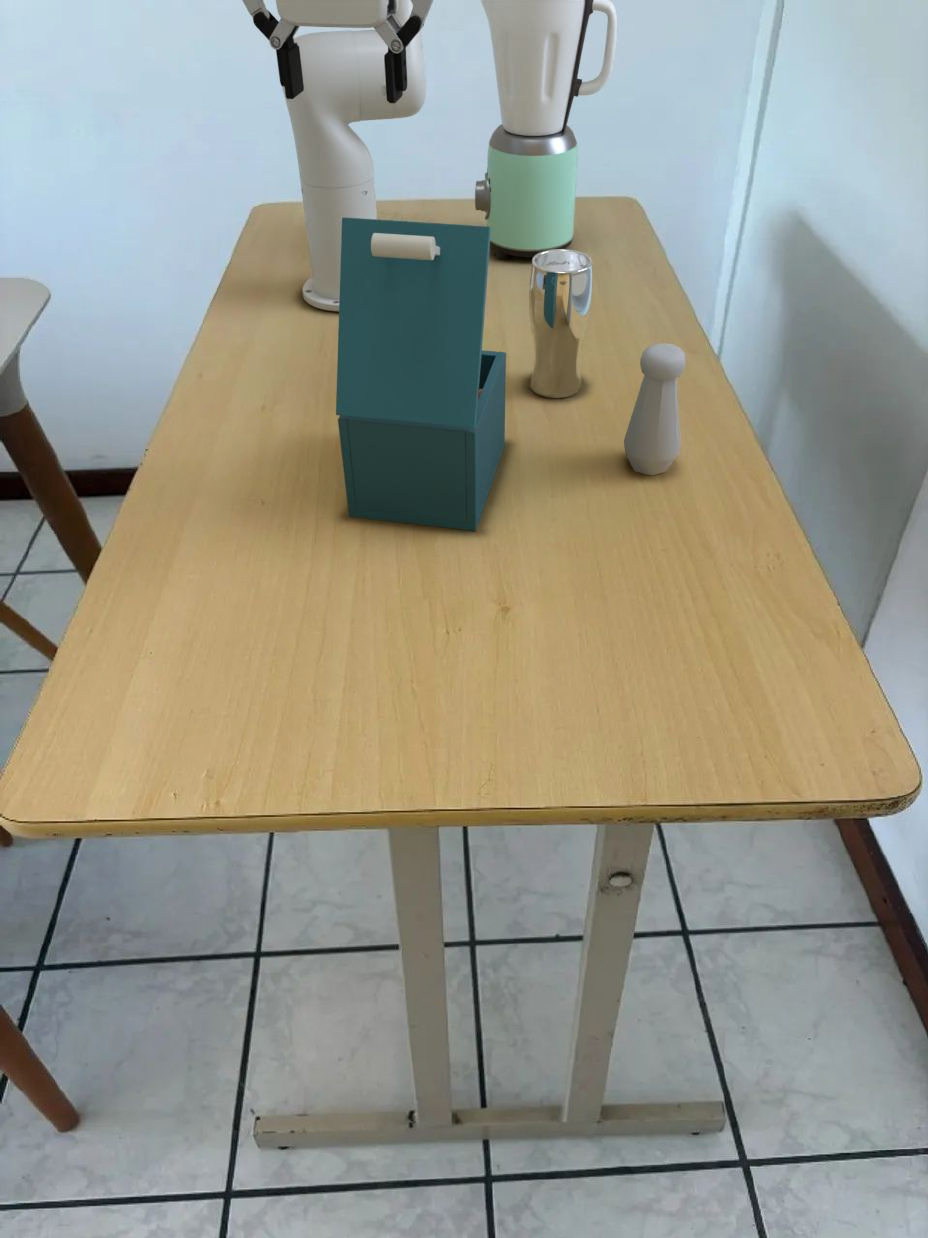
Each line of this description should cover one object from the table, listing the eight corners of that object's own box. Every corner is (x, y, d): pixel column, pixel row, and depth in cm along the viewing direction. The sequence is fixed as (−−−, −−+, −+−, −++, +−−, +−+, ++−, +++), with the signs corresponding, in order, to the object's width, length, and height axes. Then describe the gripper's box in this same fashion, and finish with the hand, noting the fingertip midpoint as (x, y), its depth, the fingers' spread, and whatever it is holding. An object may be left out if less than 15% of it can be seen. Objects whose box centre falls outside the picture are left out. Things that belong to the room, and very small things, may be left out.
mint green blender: (470, 263, 141) (468, -19, 118) (477, 230, 151) (476, -36, 128) (600, 266, 140) (624, -19, 116) (598, 233, 150) (620, -36, 126)
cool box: (390, 434, 106) (383, 341, 99) (504, 445, 104) (506, 351, 96) (348, 516, 94) (337, 419, 87) (475, 531, 92) (475, 432, 85)
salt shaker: (680, 454, 102) (698, 339, 93) (674, 483, 98) (693, 366, 89) (625, 446, 103) (638, 332, 95) (617, 475, 99) (630, 359, 90)
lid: (344, 217, 82) (325, 211, 77) (491, 227, 80) (480, 220, 75) (338, 414, 87) (319, 419, 82) (476, 427, 85) (465, 433, 80)
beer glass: (581, 403, 110) (591, 275, 100) (521, 397, 111) (525, 270, 101) (587, 374, 115) (597, 249, 105) (530, 369, 116) (535, 246, 106)
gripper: (439, -142, 78) (444, 90, 90) (240, -142, 81) (270, 83, 93) (417, -135, 73) (426, 112, 84) (205, -135, 76) (241, 104, 87)
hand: (344, 97), depth 89 cm, fingers open, 9 cm apart
